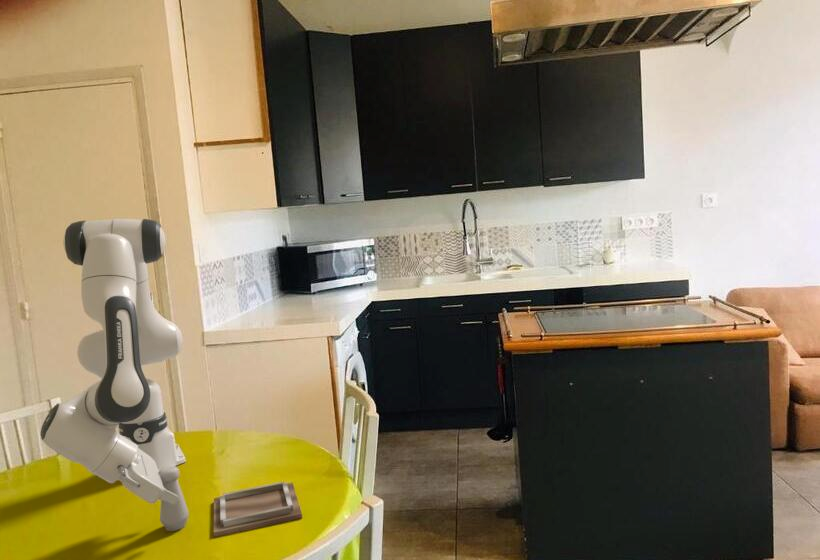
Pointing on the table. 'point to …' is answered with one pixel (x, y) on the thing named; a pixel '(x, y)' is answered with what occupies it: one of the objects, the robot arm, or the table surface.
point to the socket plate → (255, 508)
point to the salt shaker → (172, 513)
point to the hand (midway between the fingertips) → (173, 492)
